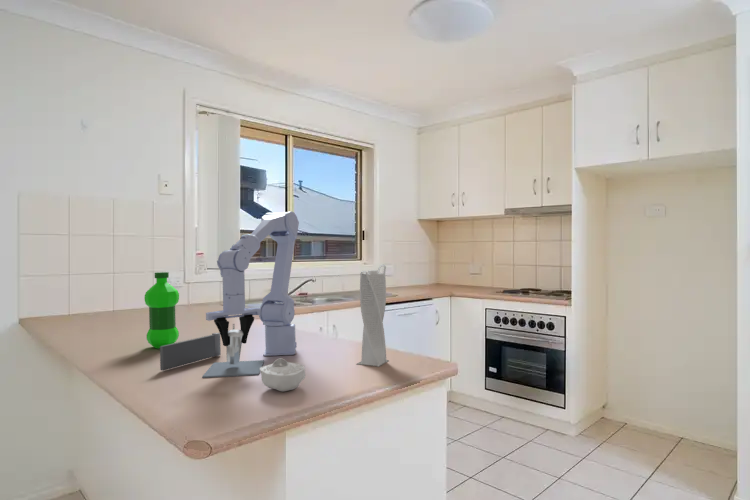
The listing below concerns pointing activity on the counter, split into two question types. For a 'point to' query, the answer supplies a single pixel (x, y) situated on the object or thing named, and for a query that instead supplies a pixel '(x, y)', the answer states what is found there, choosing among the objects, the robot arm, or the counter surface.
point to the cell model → (282, 375)
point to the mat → (234, 369)
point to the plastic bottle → (162, 311)
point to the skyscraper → (373, 317)
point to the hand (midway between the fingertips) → (234, 344)
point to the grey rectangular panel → (189, 351)
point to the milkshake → (234, 345)
